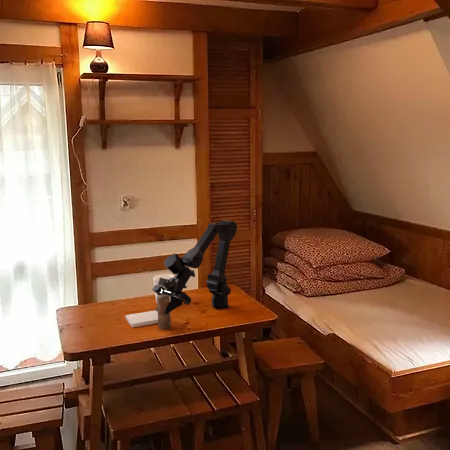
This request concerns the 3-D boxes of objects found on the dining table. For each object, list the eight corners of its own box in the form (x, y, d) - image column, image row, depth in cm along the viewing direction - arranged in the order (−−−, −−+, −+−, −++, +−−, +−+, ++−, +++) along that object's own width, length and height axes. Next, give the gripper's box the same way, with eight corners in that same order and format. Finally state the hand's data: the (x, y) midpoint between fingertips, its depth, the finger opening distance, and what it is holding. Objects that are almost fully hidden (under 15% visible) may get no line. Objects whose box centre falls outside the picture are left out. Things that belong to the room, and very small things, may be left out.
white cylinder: (157, 298, 257) (156, 273, 254) (177, 298, 255) (176, 273, 253) (152, 304, 247) (150, 279, 245) (172, 304, 246) (171, 279, 244)
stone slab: (161, 312, 235) (161, 309, 235) (169, 320, 224) (169, 317, 224) (125, 318, 229) (125, 315, 229) (132, 327, 218) (131, 323, 218)
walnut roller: (168, 324, 220) (167, 293, 218) (172, 328, 216) (170, 297, 214) (157, 326, 219) (155, 295, 216) (160, 330, 214) (158, 298, 212)
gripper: (154, 266, 223) (134, 298, 217) (184, 273, 210) (164, 307, 204) (170, 280, 229) (151, 311, 223) (199, 287, 216) (180, 321, 211)
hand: (161, 312), depth 215 cm, fingers closed on walnut roller, 5 cm apart
